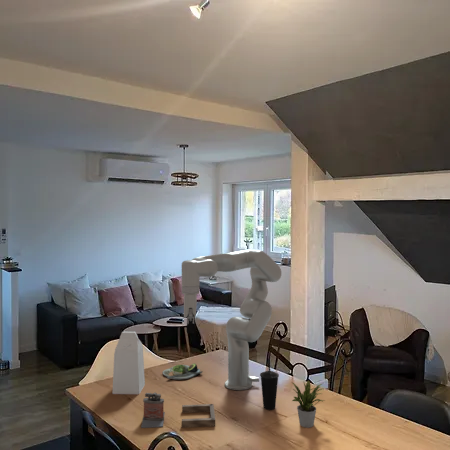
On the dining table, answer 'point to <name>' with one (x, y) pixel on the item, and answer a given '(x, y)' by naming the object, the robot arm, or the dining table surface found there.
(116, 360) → the milk
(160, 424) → the grey mat
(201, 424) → the walnut stand
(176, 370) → the salad plate
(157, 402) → the lighter
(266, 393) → the drinking cup
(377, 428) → the dining table surface
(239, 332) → the robot arm
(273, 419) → the dining table surface
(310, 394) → the house plant
